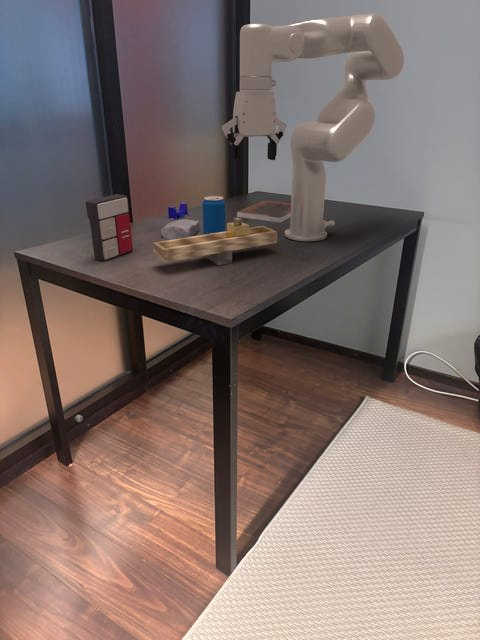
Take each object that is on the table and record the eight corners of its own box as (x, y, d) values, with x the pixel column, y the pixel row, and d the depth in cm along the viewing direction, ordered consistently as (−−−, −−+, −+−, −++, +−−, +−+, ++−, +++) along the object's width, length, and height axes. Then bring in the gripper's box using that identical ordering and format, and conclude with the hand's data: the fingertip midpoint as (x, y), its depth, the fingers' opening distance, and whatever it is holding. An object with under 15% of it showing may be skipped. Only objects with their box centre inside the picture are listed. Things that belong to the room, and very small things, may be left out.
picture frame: (280, 224, 159) (304, 211, 176) (280, 217, 158) (305, 204, 175) (237, 218, 166) (264, 206, 183) (237, 211, 165) (264, 199, 182)
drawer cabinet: (104, 262, 122) (97, 203, 115) (93, 259, 124) (85, 201, 117) (135, 251, 130) (129, 195, 124) (123, 248, 132) (117, 193, 126)
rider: (240, 236, 127) (240, 215, 125) (248, 240, 124) (248, 219, 122) (227, 238, 125) (226, 217, 123) (235, 242, 122) (235, 221, 120)
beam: (261, 246, 134) (261, 224, 132) (277, 254, 128) (278, 231, 125) (153, 265, 120) (151, 241, 117) (166, 275, 114) (164, 250, 111)
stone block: (160, 244, 142) (191, 240, 140) (156, 228, 141) (187, 223, 138) (173, 235, 153) (202, 231, 150) (169, 220, 151) (199, 215, 149)
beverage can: (228, 237, 143) (228, 196, 137) (220, 243, 137) (220, 200, 132) (208, 235, 144) (207, 194, 139) (200, 241, 139) (198, 199, 134)
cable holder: (176, 220, 162) (176, 208, 160) (168, 218, 164) (168, 207, 162) (191, 215, 168) (190, 203, 166) (183, 214, 170) (182, 202, 168)
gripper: (279, 85, 120) (277, 157, 127) (215, 85, 113) (217, 160, 121) (295, 85, 114) (291, 160, 121) (228, 85, 107) (229, 164, 115)
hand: (254, 160), depth 121 cm, fingers open, 9 cm apart
